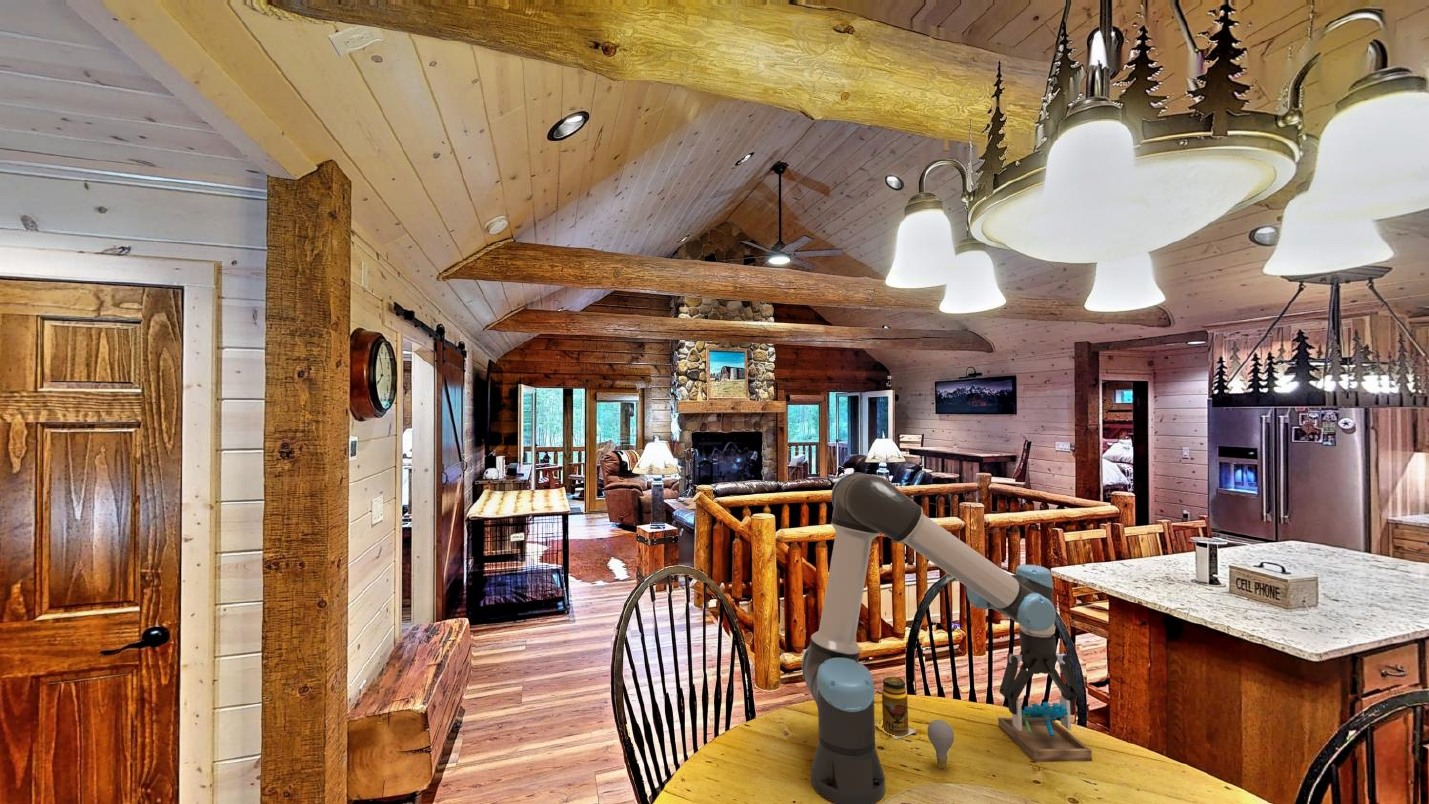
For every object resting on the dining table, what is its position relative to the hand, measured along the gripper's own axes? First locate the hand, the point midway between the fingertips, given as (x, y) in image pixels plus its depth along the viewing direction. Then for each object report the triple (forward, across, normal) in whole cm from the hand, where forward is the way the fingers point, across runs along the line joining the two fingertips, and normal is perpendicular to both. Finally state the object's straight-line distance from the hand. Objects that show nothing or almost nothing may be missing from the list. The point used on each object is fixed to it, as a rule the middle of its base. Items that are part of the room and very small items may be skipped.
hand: (1041, 727), depth 130 cm
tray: (+4, 0, 0) cm, 4 cm away
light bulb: (+4, -28, -10) cm, 30 cm away
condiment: (+4, -33, +8) cm, 34 cm away
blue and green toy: (0, 0, 0) cm, 1 cm away
